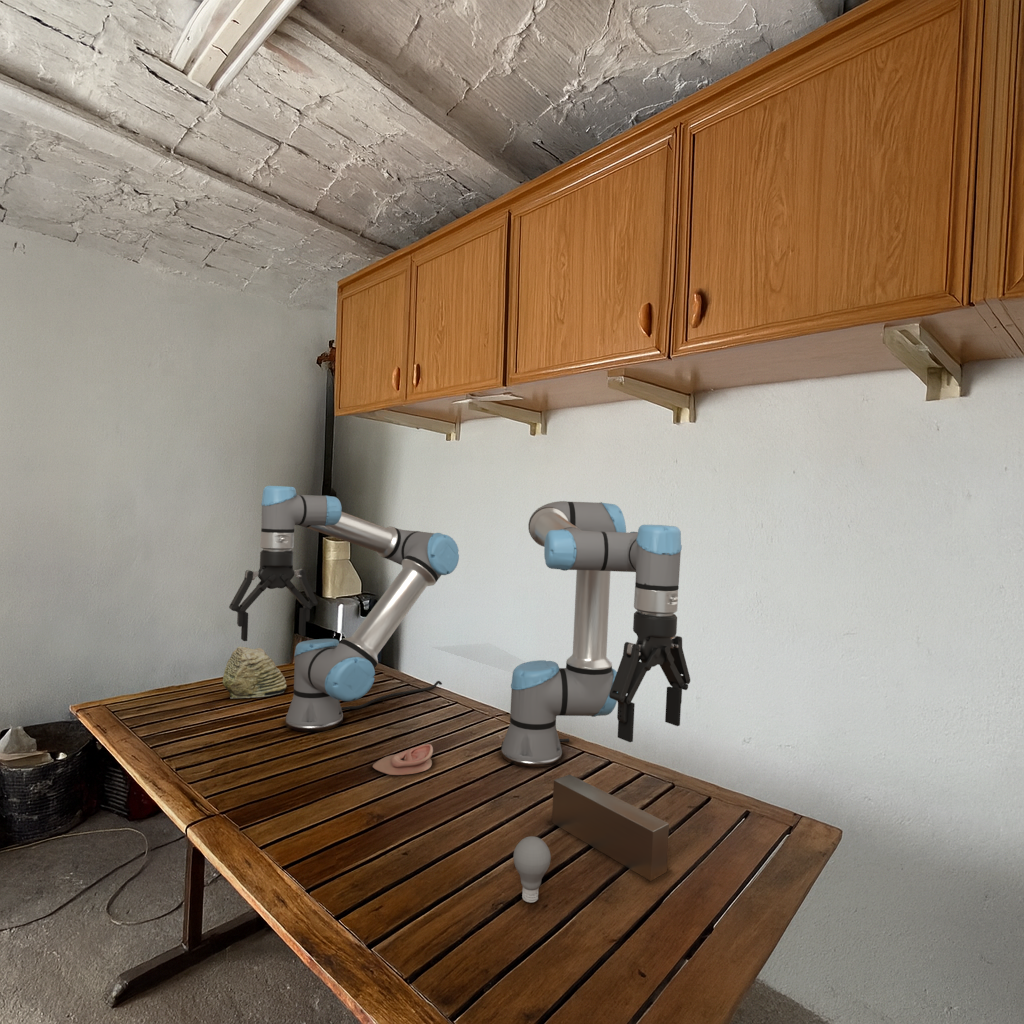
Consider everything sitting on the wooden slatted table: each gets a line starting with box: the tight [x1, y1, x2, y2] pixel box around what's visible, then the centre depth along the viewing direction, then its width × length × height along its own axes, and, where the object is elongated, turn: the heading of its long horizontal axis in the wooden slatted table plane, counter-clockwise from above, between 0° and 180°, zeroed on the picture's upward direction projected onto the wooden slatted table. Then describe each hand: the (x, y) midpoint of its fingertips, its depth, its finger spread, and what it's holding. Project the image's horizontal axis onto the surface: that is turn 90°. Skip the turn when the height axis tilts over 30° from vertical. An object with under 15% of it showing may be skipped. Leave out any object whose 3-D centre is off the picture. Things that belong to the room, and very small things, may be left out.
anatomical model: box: [372, 743, 434, 776], centre depth 151 cm, size 13×4×12 cm
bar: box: [551, 774, 670, 882], centre depth 119 cm, size 24×5×9 cm, turn 41°
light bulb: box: [512, 836, 552, 904], centre depth 102 cm, size 6×6×10 cm
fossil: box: [222, 646, 288, 699], centre depth 198 cm, size 9×18×15 cm, turn 132°
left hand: (273, 637), depth 153 cm, fingers open, 13 cm apart
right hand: (649, 731), depth 112 cm, fingers open, 13 cm apart
